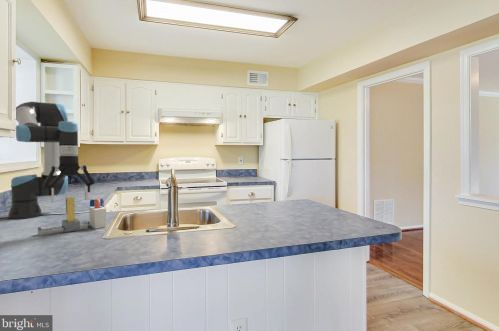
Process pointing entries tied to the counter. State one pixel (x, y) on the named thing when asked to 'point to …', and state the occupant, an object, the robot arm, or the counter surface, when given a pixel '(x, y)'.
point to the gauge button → (97, 203)
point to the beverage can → (93, 202)
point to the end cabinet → (97, 217)
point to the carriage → (70, 216)
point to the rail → (58, 229)
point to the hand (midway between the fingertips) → (70, 201)
